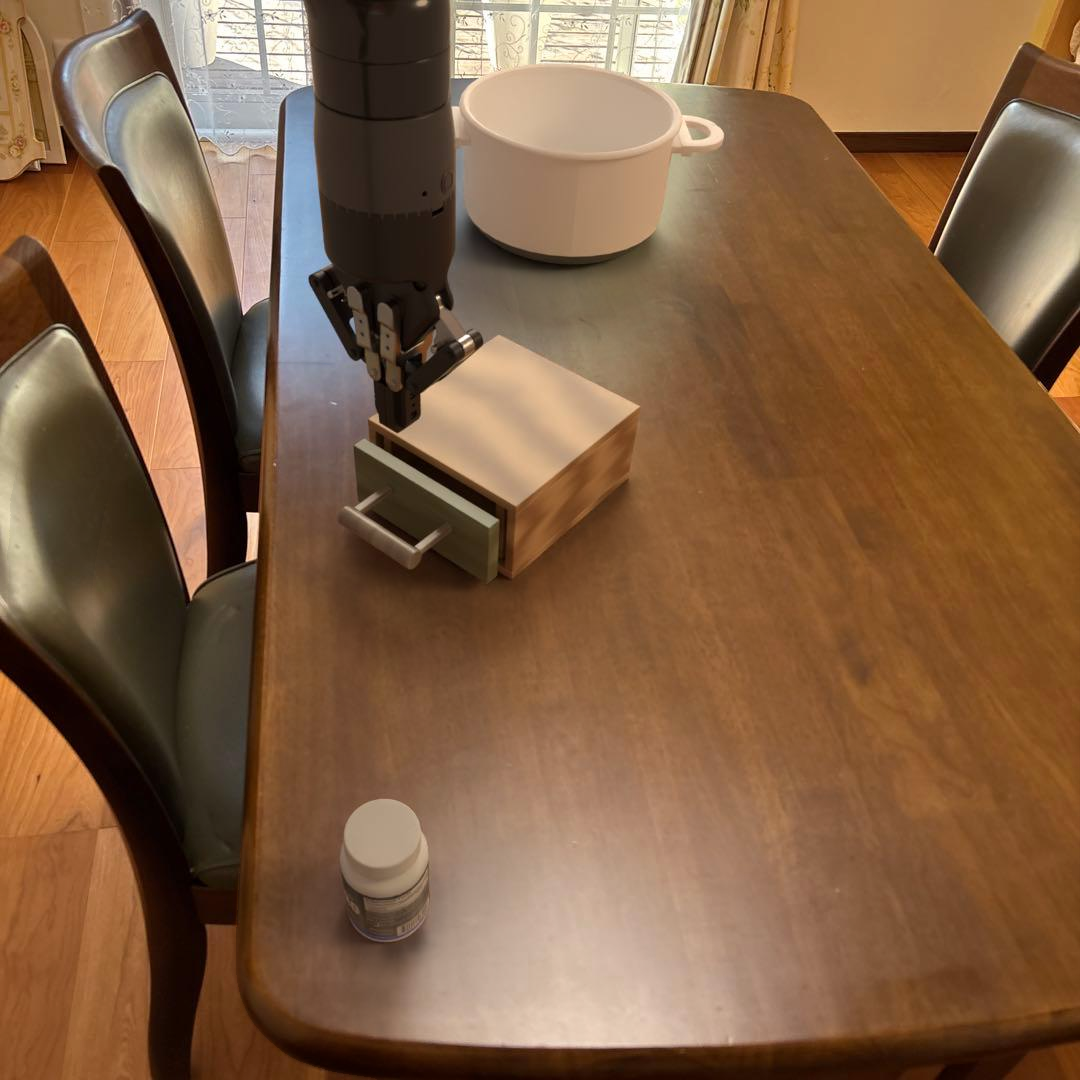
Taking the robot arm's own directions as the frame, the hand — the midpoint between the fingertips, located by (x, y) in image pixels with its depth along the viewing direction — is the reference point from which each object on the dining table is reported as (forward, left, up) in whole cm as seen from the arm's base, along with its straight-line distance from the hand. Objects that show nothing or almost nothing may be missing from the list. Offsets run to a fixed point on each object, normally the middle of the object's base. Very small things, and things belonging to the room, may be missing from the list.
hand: (399, 423), depth 68 cm
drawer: (+6, 0, -13) cm, 14 cm away
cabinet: (+12, 0, -13) cm, 18 cm away
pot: (+50, +23, -14) cm, 56 cm away
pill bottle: (-20, -18, -14) cm, 30 cm away
